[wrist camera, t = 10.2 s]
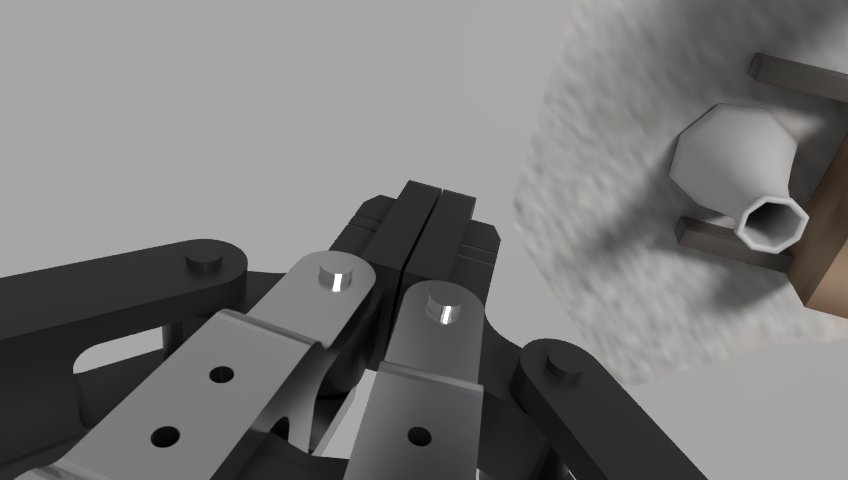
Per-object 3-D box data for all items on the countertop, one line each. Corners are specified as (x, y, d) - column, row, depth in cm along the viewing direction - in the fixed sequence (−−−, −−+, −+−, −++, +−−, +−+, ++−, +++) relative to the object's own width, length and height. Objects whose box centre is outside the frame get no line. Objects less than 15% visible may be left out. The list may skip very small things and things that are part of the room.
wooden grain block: (756, 52, 36) (785, 76, 31) (922, 91, 35) (980, 122, 30) (674, 231, 43) (687, 275, 37) (814, 268, 42) (847, 318, 37)
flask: (648, 179, 41) (665, 249, 33) (714, 82, 38) (754, 133, 29) (744, 226, 41) (787, 308, 33) (820, 133, 38) (890, 199, 29)
